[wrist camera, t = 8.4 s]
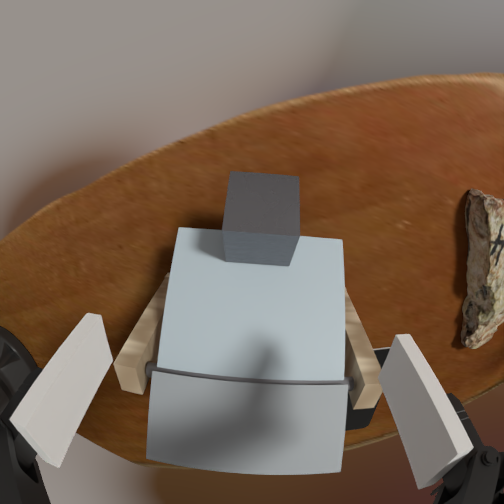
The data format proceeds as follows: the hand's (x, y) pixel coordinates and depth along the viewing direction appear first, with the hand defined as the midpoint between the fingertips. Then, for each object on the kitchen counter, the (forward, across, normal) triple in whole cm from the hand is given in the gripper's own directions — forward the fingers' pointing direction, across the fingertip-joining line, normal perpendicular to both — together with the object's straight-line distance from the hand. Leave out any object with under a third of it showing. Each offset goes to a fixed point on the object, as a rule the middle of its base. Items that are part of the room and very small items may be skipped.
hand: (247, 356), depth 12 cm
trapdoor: (+9, +1, -8) cm, 12 cm away
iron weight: (+14, 0, +1) cm, 14 cm away
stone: (+19, +37, -2) cm, 42 cm away
